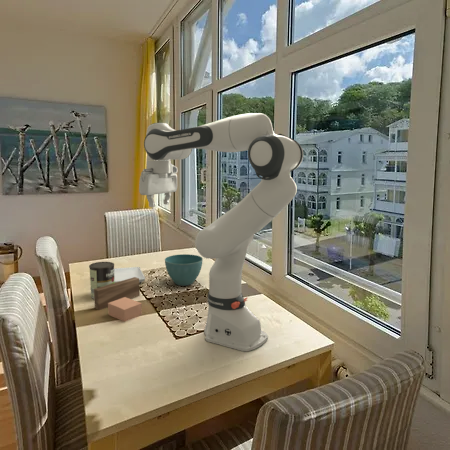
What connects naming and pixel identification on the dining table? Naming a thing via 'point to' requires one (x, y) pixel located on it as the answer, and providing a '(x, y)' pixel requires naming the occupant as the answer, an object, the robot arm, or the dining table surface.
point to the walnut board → (116, 292)
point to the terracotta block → (124, 309)
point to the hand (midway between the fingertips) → (159, 205)
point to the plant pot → (183, 268)
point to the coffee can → (101, 275)
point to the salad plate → (128, 274)
